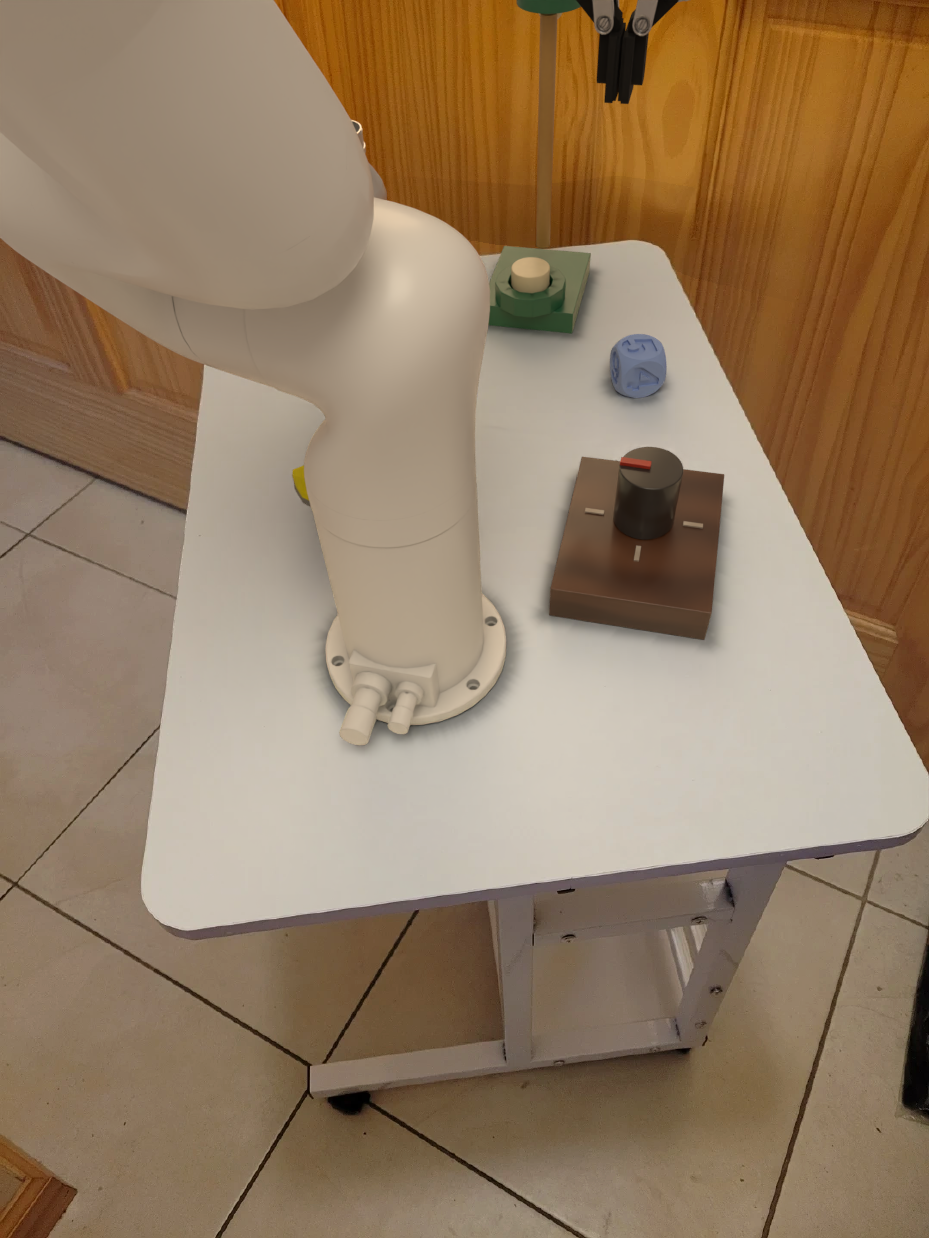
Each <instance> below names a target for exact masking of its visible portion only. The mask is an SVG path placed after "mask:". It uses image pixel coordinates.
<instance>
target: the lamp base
mask: <svg viewBox="0 0 929 1238" xmlns="http://www.w3.org/2000/svg"><path fill="white" fill-rule="evenodd" d="M591 256H592V254H591V252H583V251H573V250H572V251H571V250H559V249H547V248H544V249H542V248H537V247H536V248H535V247H524V246H523V247H522V246H511V245H503V247H502V250H501V253H500V255H499V257H498V259H497V262H496V265H495V267H494V270H493V272H492V275H491V277H490V280H489V287H490V314H489V323H488V326H490V327H491V326H492V327H503V328H510V329H511V328H512V329H522V330H531V331H532V330H533V331H540V332H541V331H542V332H552V333H563V334H573V332H574V328H575V325H576V321H577V318H578V315H579V311H580V307H581V303H582V300H583V296H584V293H585V290H586V286H587V283H588V279H589V276H590V270H591ZM527 257H535V258H540V259H543V260H545V261H546V262H548V264H549V266H550V281H549V286H548V288H547V289H545V290H544V291H541V292H536V293H524V292H519V291H517V290H514V289H513V287H512V285H511V267H512V265H513V263H514V262H516V261H517V260H519V259H522V258H527Z"/></svg>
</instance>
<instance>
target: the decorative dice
mask: <svg viewBox="0 0 929 1238" xmlns="http://www.w3.org/2000/svg"><path fill="white" fill-rule="evenodd" d="M667 365H668V364H667V355H666V351H665V348H664V345H663V343H662V342H661V341H660V340H659V339H658V338H656V337H655V336H653V335H650V334H645V333H644V334H643V333H633V334H629V335H626V336H624V337H622V338H621V339H619V340H617V342H616V343H615V344H614V345H613V346H612V347H611V349H610V354H609V372H610V373H609V374H610V378H611V383H612V386H613V388H614V390H615V391H616V392H617V393H619V394H620V395H622V396H624V397H627V398H631V399H632V398H633V399H642V398H646V397H649V396H651V395H653V394H655V393H656V392H658V390H660V389H661V387H662V386H663V385H664V383H665V382H666V379H667V369H668V368H667V367H668V366H667Z"/></svg>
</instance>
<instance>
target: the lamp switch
mask: <svg viewBox="0 0 929 1238" xmlns="http://www.w3.org/2000/svg"><path fill="white" fill-rule="evenodd" d="M549 281H550V266H549V264H548V262H546V261H545V260H543V259H540V258H535V257H527V258H522V259H519V260H517V261H516V262H514V263H513V265H512V267H511V285H512V287H513V289H514V290H517V291H519V292H524V293H536V292H541V291H544V290H545V289H547V288H548V286H549Z"/></svg>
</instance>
